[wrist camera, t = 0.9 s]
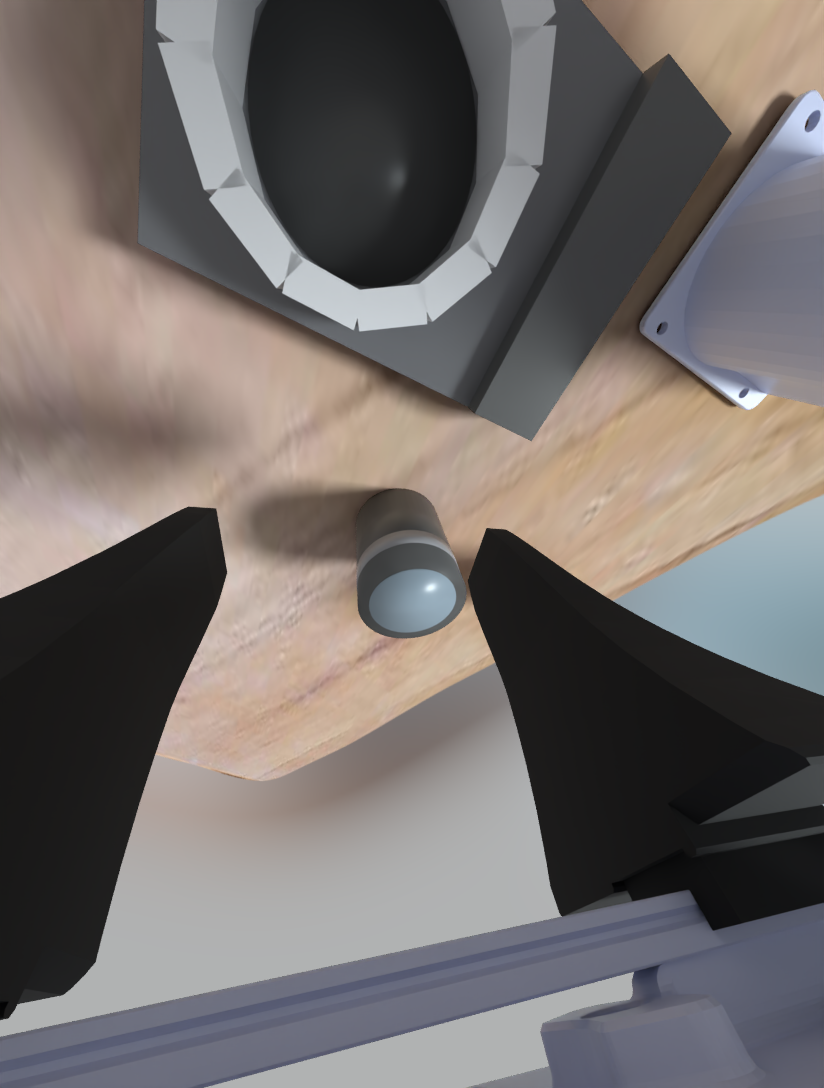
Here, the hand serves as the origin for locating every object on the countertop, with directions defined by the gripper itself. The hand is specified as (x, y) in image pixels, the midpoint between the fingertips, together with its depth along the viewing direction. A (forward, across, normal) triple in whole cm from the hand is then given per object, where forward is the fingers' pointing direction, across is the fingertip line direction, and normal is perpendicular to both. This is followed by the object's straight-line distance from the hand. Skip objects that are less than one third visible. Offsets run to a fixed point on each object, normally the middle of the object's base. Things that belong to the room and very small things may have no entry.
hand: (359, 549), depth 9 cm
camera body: (+10, -2, -9) cm, 13 cm away
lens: (+10, -3, +5) cm, 11 cm away
